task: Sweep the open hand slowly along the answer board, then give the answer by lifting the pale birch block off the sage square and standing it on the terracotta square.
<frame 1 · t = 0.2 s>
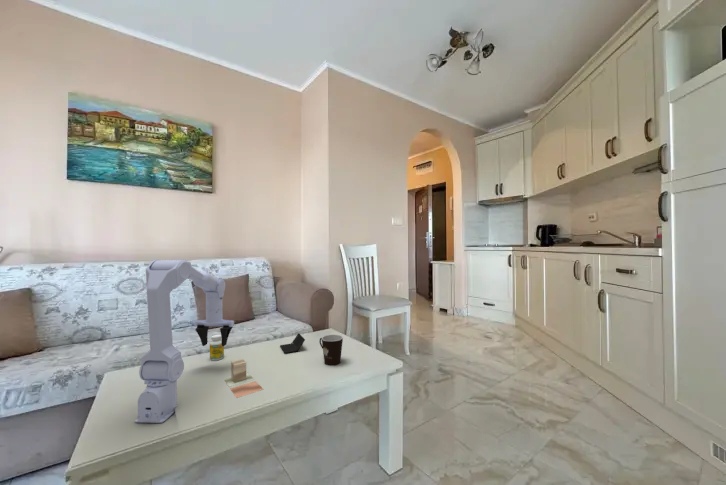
hand: (214, 345, 114), 10 cm above the table, tool pointing down, fingers open, 7 cm apart
answer board: (242, 387, 102), on the table
coffee mug: (331, 361, 124), on the table
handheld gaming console: (292, 349, 138), on the table
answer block: (238, 379, 105), point 1 cm above the table, touching answer board
supplement bottle: (216, 358, 127), on the table
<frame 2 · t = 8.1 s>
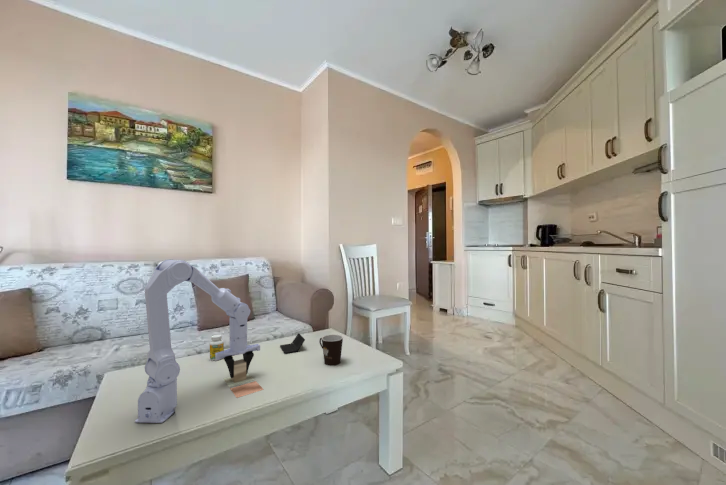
hand: (238, 375, 105), 3 cm above the table, tool pointing down, fingers closed on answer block, 4 cm apart
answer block: (238, 379, 105), point 1 cm above the table, touching answer board, gripper
everything else where it was.
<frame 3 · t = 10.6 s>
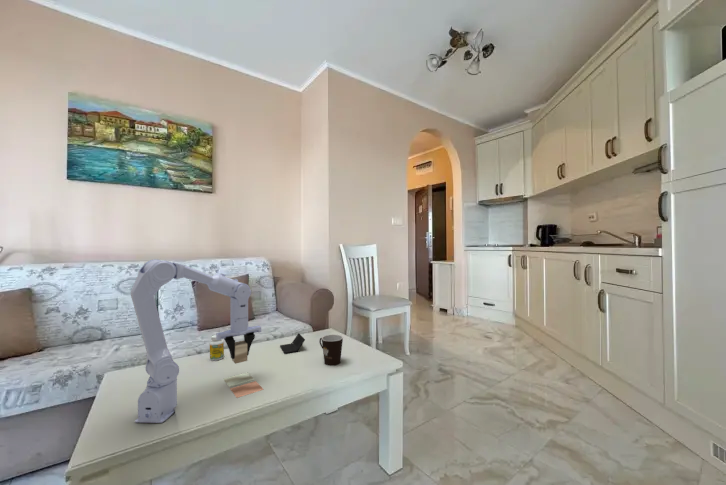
hand: (239, 356, 104), 10 cm above the table, tool pointing down, fingers closed on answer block, 4 cm apart
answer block: (239, 360, 104), point 8 cm above the table, touching gripper
everything else where it was.
when the fingers open (3 cm above the table, at t = 13.4 s): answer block stays where it is, resting on answer board.
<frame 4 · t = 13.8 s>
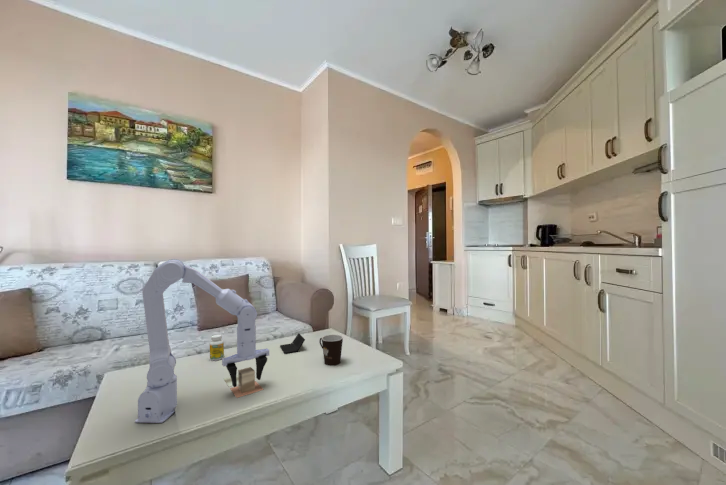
hand: (246, 382, 98), 3 cm above the table, tool pointing down, fingers open, 7 cm apart
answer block: (246, 388, 98), point 1 cm above the table, touching answer board
everything else where it was.
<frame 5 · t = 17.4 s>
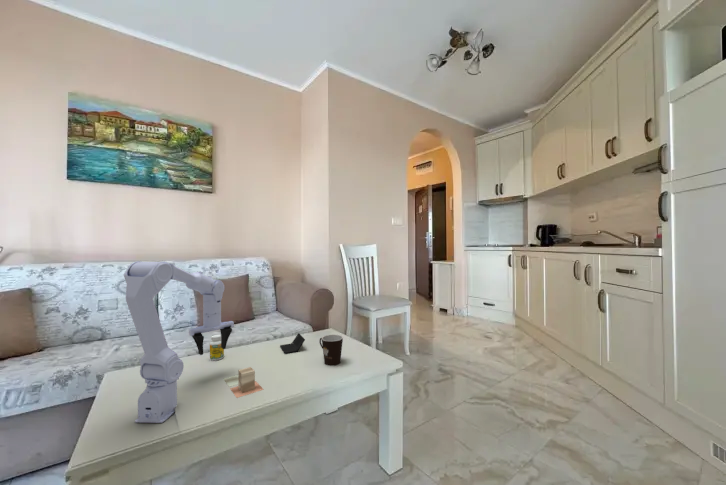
hand: (212, 351, 107), 10 cm above the table, tool pointing down, fingers open, 7 cm apart
nothing on the table moved.
at the end: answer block 0.2 cm from the target spot on the answer board, point 1.2 cm above the answer board's base; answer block tilted 0°; the gripper is holding nothing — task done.
